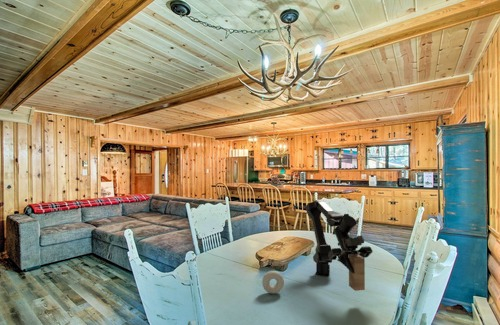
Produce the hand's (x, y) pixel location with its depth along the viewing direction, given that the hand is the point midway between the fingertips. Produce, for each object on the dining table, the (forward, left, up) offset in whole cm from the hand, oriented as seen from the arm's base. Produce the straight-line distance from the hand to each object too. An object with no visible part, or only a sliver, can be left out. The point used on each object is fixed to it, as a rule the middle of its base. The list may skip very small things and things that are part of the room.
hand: (358, 272), depth 102 cm
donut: (-36, -2, -14) cm, 39 cm away
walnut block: (-1, +1, -7) cm, 7 cm away
